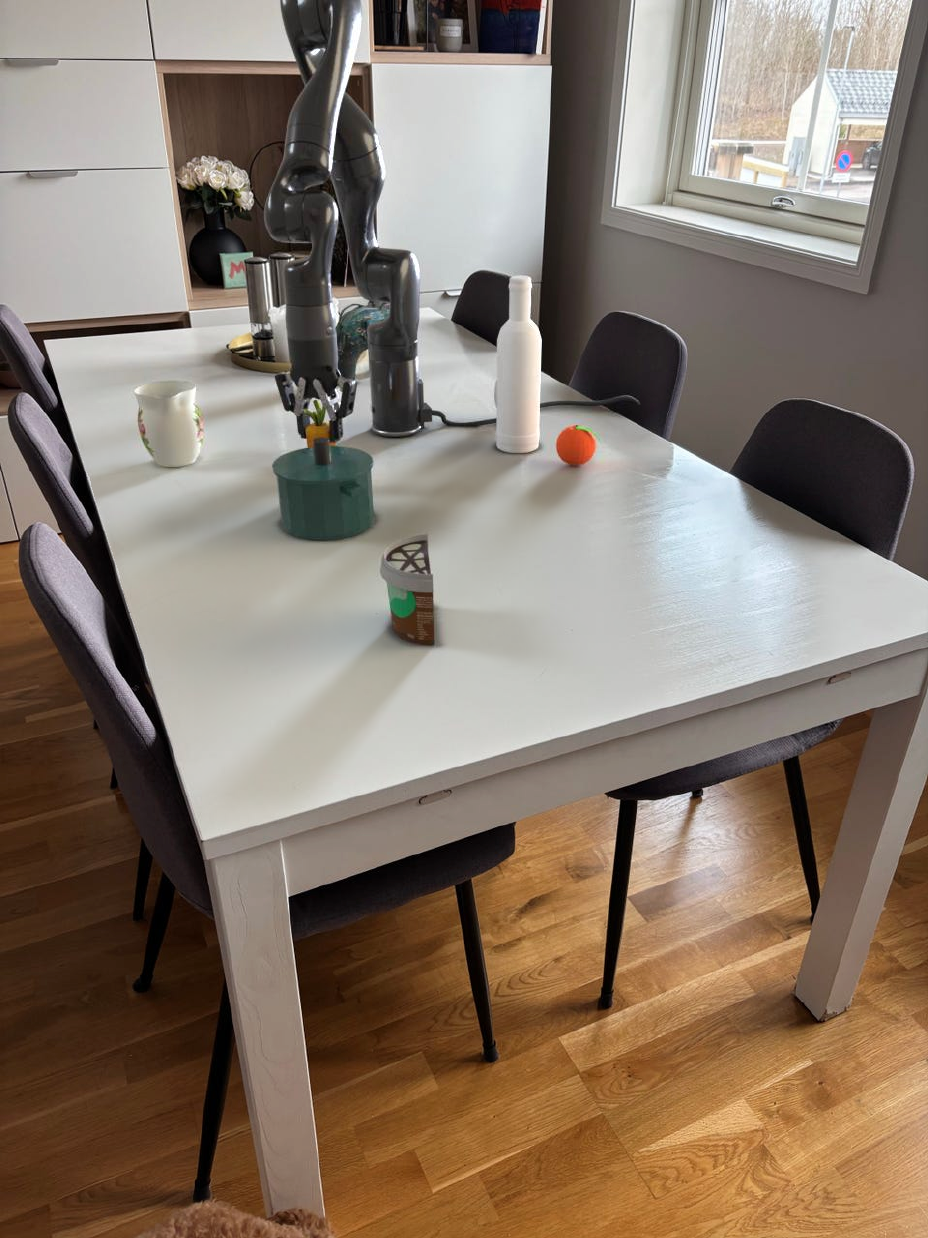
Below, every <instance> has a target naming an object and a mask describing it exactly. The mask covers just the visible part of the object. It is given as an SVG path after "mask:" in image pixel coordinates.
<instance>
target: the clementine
mask: <svg viewBox="0 0 928 1238" xmlns="http://www.w3.org/2000/svg"><path fill="white" fill-rule="evenodd" d="M595 436H596V438H597V439H598V442H599V443H600V444H602V442H601V439H600V437H599V435H598V434H597V433H596V432H595V431H594V430H593V429H591V428H589V427H587V426H583V425H580V424H579V425H578V424H574V425H569V426H568V427H565V428H564V429H563V430H562V431H560V433H559V434H558V437H557V438H556V443H555V448H556V454H557V456H558V457H559V459H560V460H561V461H562V462H563V463H565V464H567V465H570V466H575V467H577V466H581V465H584V464H586V463H588V462H589V461H590V460H591V459H592V458H593V456H594V454H595V452H596V447H597V444H596V443H597V442H596V438H595Z"/></svg>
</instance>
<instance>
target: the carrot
mask: <svg viewBox="0 0 928 1238" xmlns="http://www.w3.org/2000/svg"><path fill="white" fill-rule="evenodd" d="M312 402H313V405H314V408H315V411H310V410H309V409H308V410H305V411H304V414H306V415H308V416H310V419H311V420H312V421H313V422H312V423H310V425H308V426H307V427H306V439H305V440H306V446H307V447H306V448H309V447H313V440H314V439H316V438H328V439H329V444H330V446H337V445H336V443H332V442H331V440H330V427H329V422H325V421H324V420H325V417H326V413H327V410H326V408H324V407H323V405H322V404H321V403H320V400H318V399H314V400H312ZM321 405H322V406H321Z"/></svg>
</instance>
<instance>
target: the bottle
mask: <svg viewBox="0 0 928 1238" xmlns="http://www.w3.org/2000/svg"><path fill="white" fill-rule="evenodd" d="M532 287H533V285H532V278H531V277H530V276H528V275H523V274H522V275H512V276H510V278H509V283H508V291H509V299H508V300H509V301H508V302H509V304H508V319H507V321H505V323H504V324H503V325H502V326H501V327H500V329H499V332H498V335H497V338H496V380H497V408H496V418H497V423H496V424H495V425H496V428H495V440H496V441H495V442H496V443H495V444H496V447H497V449H498V450H500V451H501V452H505V453H508V454H526V453H531V452H533V451H535V450H537V449H538V448H539V441H540V409H541V408H540V403H541V375H542V374H541V371H542V370H541V369H542V336H541V333H540V330H539V327H538V326H537V325H536V324H535V323H534V321H533V320H532V319H531V299H532V298H531V297H532V296H531V295H532V292H531V291H532Z"/></svg>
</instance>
